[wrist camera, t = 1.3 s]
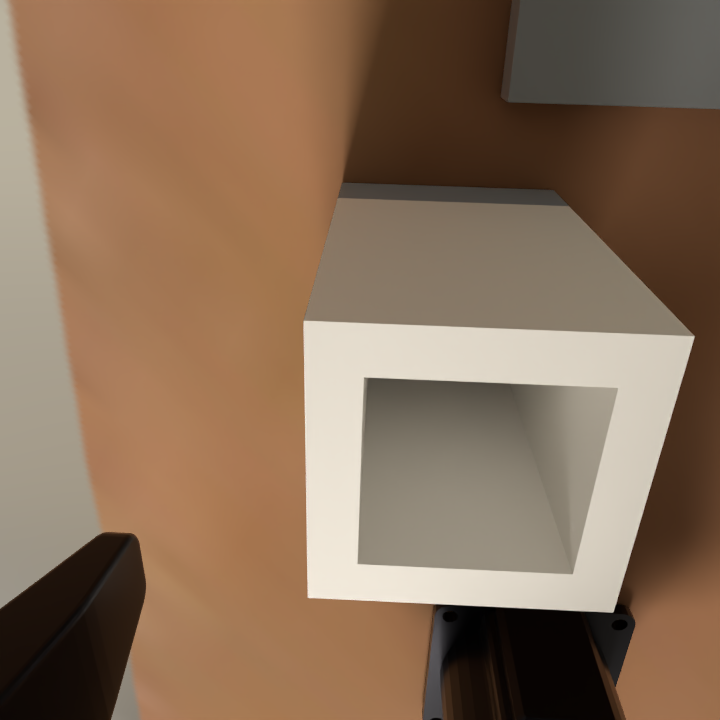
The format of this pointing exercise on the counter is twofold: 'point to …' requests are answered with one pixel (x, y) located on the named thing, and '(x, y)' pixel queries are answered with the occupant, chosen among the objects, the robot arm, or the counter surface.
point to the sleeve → (479, 401)
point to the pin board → (614, 53)
